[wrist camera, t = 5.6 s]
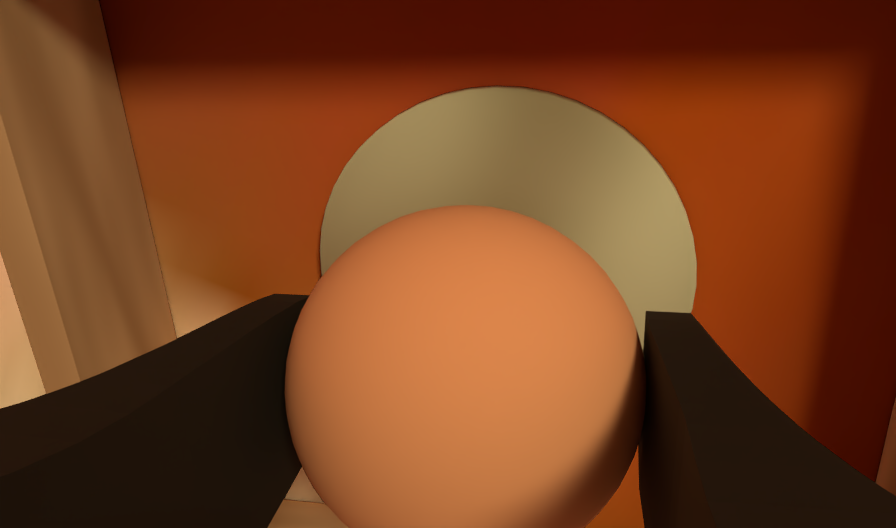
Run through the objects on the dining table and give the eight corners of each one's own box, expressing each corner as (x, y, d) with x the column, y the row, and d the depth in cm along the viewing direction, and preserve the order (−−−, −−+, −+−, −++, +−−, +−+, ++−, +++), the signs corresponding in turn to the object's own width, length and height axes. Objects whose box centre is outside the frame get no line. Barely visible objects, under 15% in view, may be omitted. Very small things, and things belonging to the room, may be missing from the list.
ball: (644, 160, 11) (684, 317, 7) (626, 428, 14) (648, 682, 9) (329, 159, 12) (184, 299, 8) (357, 412, 14) (255, 638, 10)
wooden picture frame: (1102, -195, 10) (1286, -234, 7) (892, 592, 16) (951, 732, 13) (30, -114, 13) (-121, -122, 10) (188, 514, 19) (117, 614, 16)
